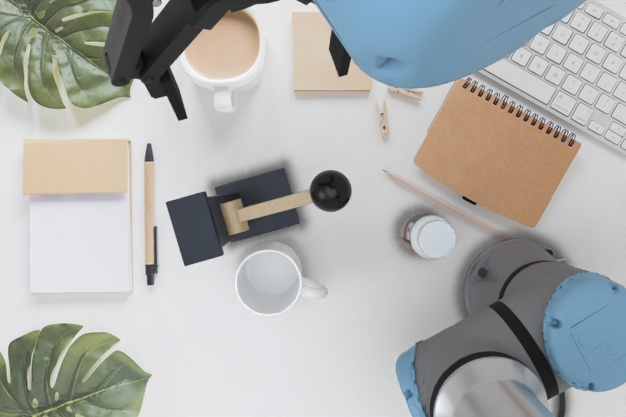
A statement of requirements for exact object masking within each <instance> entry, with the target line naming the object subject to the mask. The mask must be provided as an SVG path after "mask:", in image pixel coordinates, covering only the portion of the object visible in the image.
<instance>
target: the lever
mask: <svg viewBox="0 0 626 417" xmlns="http://www.w3.org/2000/svg"><path fill="white" fill-rule="evenodd" d="M352 188H353V187H352V184H351V181H350V180H349V178H348V177H347V176H346V175H345V174H344V173H343V172H341V171H338V170H335V169H326V170H323V171H321V172H319V173H317V174H316V175H315V176H314V177H313V179H312V180H311V182H310V185H309V189H306V190H303V191H299V192H295V193H292V194H291V195H288V196H284V197H280V198H277V199H273V200H270V201H266V202H262V203H259V204H255V205H251V206H248V207H244V208H243V205H242V201H241V199H237V200H233V201H230V202H226V203H223V204H220V207H221V210H222V214H223V217H224V221H225V224H226V228H227V231H228V234H229V235H234V234H237V233H241V232H244V231H247V230H249V226H248V222H247V220H251V219H255V218H259V217H263V216H266V215H270V214H274V213H278V212H282V211H285V210H289V209H293V208H296V209H297V208H301V207H304V206H308V205H311V204H313V205H314V206H315V207H316V208H317V209H319V210H321V211H323V212H325V213H334V212H338V211H341V210H342V209H344V208H345V207H347V205H348V204H349V203H350V200H351V198H352V191H353V189H352Z"/></svg>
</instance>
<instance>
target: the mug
mask: <svg viewBox="0 0 626 417" xmlns="http://www.w3.org/2000/svg"><path fill="white" fill-rule="evenodd" d="M236 269H237V270H236V272H235V276H234V290H235V293H236V296H237V298H238V300H239V302H240V303H241V304H242V305H243V306H244V308H245V309H247V310H248V311H249V312H251V313H253V314H256V315H259V316H261V317H262V316H263V317H274V316H278V315H281V314H283V313H285V312H287V311H289V310H290V309H291V308H292V307H293V306H294V305H295V304H296V302H298V300H299V298H300V297H302V298H306V299H311V300H321V299H325V298H326V297H327V296H328V293H329V291H328V288H327V287H326V286H325V285H324V284H322V283H320V282H318V281H316V280H314V279H311V278H308V277H305V276H303V266H302V262H301V259H300V257H299V255H298V254H297V252H296V251H295V250H294V249H293V248H292V247H291V246H290V245H288V244H286V243H283V242H280V241H274V240H273V241H271V240H270V241H264V242H261V243H259V244H257V245H255V246H254V247H253V248H252V249H251V250H250V251H249V252H248V253H247V255H246V256H245V257H244V259H243V260H242V261H241V262H240V264H239V265H238V267H237V268H236Z"/></svg>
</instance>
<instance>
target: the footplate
mask: <svg viewBox="0 0 626 417" xmlns="http://www.w3.org/2000/svg"><path fill="white" fill-rule="evenodd" d="M214 191H215V194H216V195H223V194H229V193H236V192H238V193H239V196H240V199H241V201H242V205H243V208H244V207H248V206H251V205H255V204H259V203H262V202H266V201H270V200H273V199H277V198H280V197H284V196H288V195H291V194H293V193H292V189H291V186H290V183H289V178H288V175H287V172H286V168H285V167H282V168H278V169H275V170H274V169H273V170H272V171H267V172H264V173H261V174H257V175H254V176H250V177H246V178H243V179H239V180H236V181H233V182H232V181H231V182H230V183H225V184H222V185H218V186H215V187H214ZM247 222H248V226H249V230H247V231H244V232H241V233H240V234H238V235H237V236H236V237H235V238H233V239H232V240H231V241H230V242H229V243H231V244H232V243H236V242H239V241H242V240H246V239H249V238H254V237H257V236H260V235H263V234H267V233H271V232H274V231H278V230H281V229H286V228H289V227H291V226H296V225H299V224H300V223H301V221H300V217H299V214H298V211H297V208H293V209H289V210H285V211H282V212H278V213H274V214H270V215H266V216H263V217H259V218H255V219H251V220H247Z"/></svg>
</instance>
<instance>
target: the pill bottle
mask: <svg viewBox="0 0 626 417" xmlns="http://www.w3.org/2000/svg"><path fill="white" fill-rule="evenodd" d="M400 237H401V240H402V243H403V245H404V246H405V247H406V248H407V249H408V250H409V251H411V252H413V253H415V254H416V255H418V256H420V257H421V258H424V259H426V260H437V259H441V258H444V257H447V256H449V255H450V254H452V252H453V251H454V249H455V246H456V244H457V234H456V232H455V229H454V228H453V227H452V225H450V223H449V222H448V221H447V220H446V219H444V217H441V216H439V215H434V214H431V213H426V212H417V213H413V214H410V216H407V218H406V219H405V220H404V221H403V223H402V226H401V228H400Z"/></svg>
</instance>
